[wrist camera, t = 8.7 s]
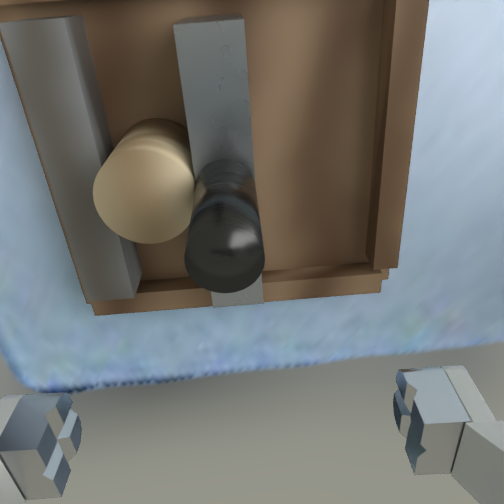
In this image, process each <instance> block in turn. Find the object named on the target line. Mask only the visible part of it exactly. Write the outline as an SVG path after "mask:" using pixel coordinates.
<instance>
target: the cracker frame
mask: <svg viewBox="0 0 504 504" xmlns="http://www.w3.org/2000/svg"><path fill="white" fill-rule="evenodd" d="M428 6H429V0H0V38H1V41H2V44H3V47H4V50H5V53H6V56H7V59H8V62H9V65H10V68H11V72H12V75H13V78H14V81H15V84H16V87H17V90H18V93H19V96H20V99H21V102H22V106H23V109H24V112H25V115H26V118H27V121H28V124H29V127H30V130H31V133H32V136H33V139H34V143H35V146H36V149H37V152H38V155H39V158H40V161H41V164H42V167H43V170H44V173H45V177H46V180H47V183H48V186H49V189H50V192H51V195H52V198H53V201H54V204H55V207H56V210H57V214H58V217H59V220H60V223H61V226H62V229H63V232H64V235H65V238H66V241H67V244H68V248H69V251H70V254H71V257H72V260H73V263H74V266H75V269H76V272H77V275H78V278H79V281H80V285H81V288H82V291H83V294H84V297H85V300H86V303H87V304H90V303H91V304H92V307H93V311H94V314H95V316H98V315H110V314H122V313H135V312H147V311H159V310H171V309H184V308H196V307H208V306H213V303H212V296H211V291H209V290H206V289H204V288H202V287H201V286H199V285H198V284H197V283H195V282H194V281H193V280H192V278H191V277H190V276H189V274H188V272H187V270H186V267H185V262H184V255H185V249H186V243H187V237H188V231H189V225H190V224H189V225H188V226H187V228H186V229H185V230H184V231H183V232H182V233H180V234H179V235H178V236H176V237H174V238H173V239H170V240H168V241H165V242H161V243H155V244H145V243H138V242H134V241H131V240H128V239H126V238H123V237H121V236H120V235H118V234H116V233H115V232H114V231H112V230H111V229H110V228H109V227H108V226H107V225H106V224H105V223H104V222H103V220H102V219H101V217H100V216H99V214H98V212H97V210H96V207H95V204H94V199H93V185H94V181H95V178H96V176H97V173H98V172H99V170H100V169H101V167H102V166H103V164H104V163H105V161H106V160H107V159H108V157H109V156H110V154H111V153H112V152H113V150H114V149H115V147H116V146H117V145H118V143H119V142H120V140H121V139H122V138H123V136H124V135H125V133H126V132H127V131H128V130H129V129H130V128H131V127H132V126H133V125H135V124H136V123H138V122H140V121H142V120H145V119H149V118H165V119H169V120H172V121H175V122H177V123H179V124H181V125H182V126H184V127H185V128H186V129H187V130H188V127H187V120H186V113H185V106H184V99H183V92H182V85H181V78H180V71H179V64H178V57H177V50H176V43H175V36H174V29H173V25H174V24H175V23H176V22H178V21H179V20H181V19H182V18H188V17H200V16H213V15H225V14H238V13H241V14H242V16H243V18H244V26H245V40H246V55H247V69H248V84H249V98H250V113H251V128H252V142H253V157H254V171H255V186H256V193H257V201H258V208H259V216H260V223H261V231H262V238H263V246H264V253H265V265H264V268H263V271H262V288H263V302H269V301H282V300H294V299H306V298H318V297H330V296H343V295H355V294H367V293H379V292H381V282H382V280H384V279H388V275H389V268H397V267H398V259H399V250H400V242H401V233H402V225H403V217H404V208H405V200H406V191H407V183H408V174H409V166H410V158H411V149H412V141H413V132H414V124H415V115H416V107H417V99H418V90H419V82H420V73H421V65H422V56H423V48H424V40H425V31H426V23H427V14H428Z"/></svg>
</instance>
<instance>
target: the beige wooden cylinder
mask: <svg viewBox="0 0 504 504" xmlns="http://www.w3.org/2000/svg"><path fill="white" fill-rule="evenodd" d="M195 189H196V183H195V176H194V169H193V162H192V155H191V148H190V141H189V134H188V130H187V129H186V128H185V127H184V126H182V125H181V124H179V123H177V122H175V121H172V120H169V119H165V118H149V119H145V120H142V121H140V122H138V123H136V124H135V125H133V126H132V127H131V128H130V129H129V130H128V131H127V132H126V133H125V135H124V136H123V138H122V139H121V140H120V142H119V143H118V145H117V146H116V147H115V149H114V150H113V152H112V153H111V154H110V156H109V157H108V159H107V160H106V161H105V163H104V164H103V166H102V167H101V169H100V170H99V172H98V173H97V176H96V178H95V181H94V185H93V199H94V204H95V207H96V210H97V212H98V214H99V216H100V217H101V219H102V220H103V222H104V223H105V224H106V225H107V226H108V227H109V228H110V229H111V230H112V231H114V232H115V233H116V234H118V235H120V236H121V237H123V238H126V239H128V240H131V241H134V242H138V243H145V244H155V243H161V242H165V241H168V240H170V239H173V238H174V237H176V236H178V235H179V234H180V233H182V232H183V231H184V230H185V229H186V228H187V226H188V225H189V224H190V219H191V213H192V207H193V201H194V195H195Z"/></svg>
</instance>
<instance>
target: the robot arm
mask: <svg viewBox="0 0 504 504" xmlns="http://www.w3.org/2000/svg"><path fill="white" fill-rule="evenodd" d="M396 383H397V385H398V388H399V389H398V390H397V391H396V392H395V393H394V399H393V408H394V416H395V420H396V424H397V427H398V430H399V432H400V433H401V434H402V435H403V436H404V437H406V438H407V441H406V447H405V450H406V453H407V456H408V458H409V461H410V464H411V467H412V469H413V472H414V475H423V474H451V475H452V477H453V478H454V479H455V480H456V481H457V482H458V483H459V484H460V485H461V486H462V487H463V488H464V489H465V490H466V491H468V492H469V494H470V495H472V497H473V498H474V499H476V500H477V502H478V503H479V504H504V421H503V420H499V421H496V419H495V418H494V416H493V414H492V412H491V411H490V409H489V407H488V406H487V404H486V402H485V401H484V399H483V397H482V396H481V394H480V392H479V390H478V389H477V387H476V385H475V384H474V382H473V380H472V379H471V377H470V375H469V374H468V372H467V370H466V369H465V367H463V366H462V365H455V366H442V367H425V368H413V369H401V370H398V372H397V376H396ZM72 403H73V402H72V400H71V397H70V395H69V393H45V394H25V395H5V396H4V397H3V398H2V399H1V400H0V504H25V503H26V501H25V500H33V499H45V498H55V497H62V494H63V491H64V489H65V485H66V483H67V480H68V477H69V474H70V472H71V469H70V467H69V465H68V461H69V460H70V459H71V458H72V457H73V456H74V455H75V454H76V453H77V451H78V448H79V445H80V442H81V431H82V428H81V421H80V419H79V416H78V414H77V413H75V412H73V411H72V410H71V409H70V408H71V406H72Z"/></svg>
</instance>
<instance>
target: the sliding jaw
mask: <svg viewBox="0 0 504 504" xmlns="http://www.w3.org/2000/svg"><path fill="white" fill-rule="evenodd" d="M173 29H174V36H175V43H176V50H177V57H178V64H179V71H180V78H181V85H182V92H183V99H184V106H185V113H186V120H187V127H188V134H189V141H190V148H191V155H192V162H193V169H194V176H195V183H196V189H195V195H194V201H193V207H192V213H191V219H190V225H189V231H188V237H187V243H186V249H185V255H184V262H185V267H186V270H187V272H188V274H189V276H190V277H191V278H192V280H193V281H194V282H195V283H197V284H198V285H199V286H201V287H202V288H204V289H206V290H209V291H211V296H212V303H213V307H224V306H236V305H249V304H261V303H263V288H262V271H263V268H264V265H265V253H264V246H263V238H262V231H261V223H260V216H259V208H258V201H257V193H256V186H255V171H254V157H253V142H252V128H251V113H250V98H249V84H248V69H247V55H246V40H245V26H244V18H243V16H242V14H241V13H238V14H225V15H213V16H200V17H188V18H182V19H181V20H179V21H178V22H176V23H175V24H174V25H173Z"/></svg>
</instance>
